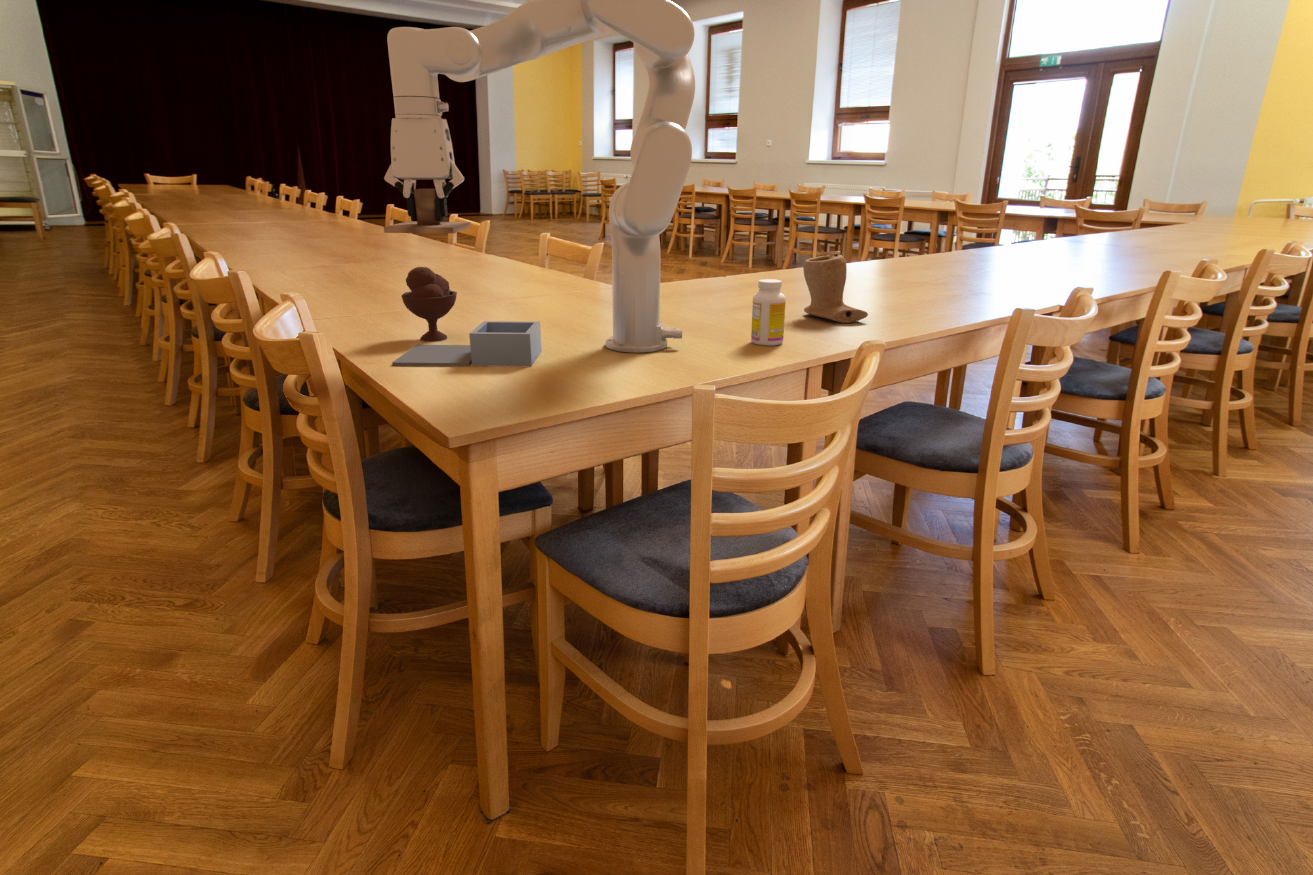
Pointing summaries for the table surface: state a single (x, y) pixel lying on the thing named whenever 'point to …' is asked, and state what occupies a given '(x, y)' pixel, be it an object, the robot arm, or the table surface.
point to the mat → (436, 356)
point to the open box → (505, 343)
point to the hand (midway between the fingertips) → (428, 219)
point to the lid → (426, 217)
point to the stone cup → (829, 289)
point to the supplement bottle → (768, 313)
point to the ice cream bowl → (429, 299)
